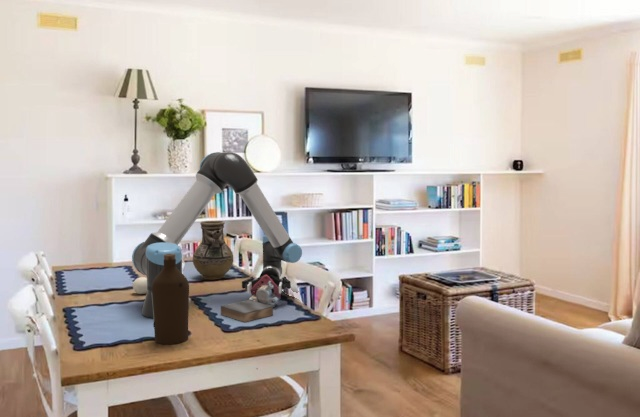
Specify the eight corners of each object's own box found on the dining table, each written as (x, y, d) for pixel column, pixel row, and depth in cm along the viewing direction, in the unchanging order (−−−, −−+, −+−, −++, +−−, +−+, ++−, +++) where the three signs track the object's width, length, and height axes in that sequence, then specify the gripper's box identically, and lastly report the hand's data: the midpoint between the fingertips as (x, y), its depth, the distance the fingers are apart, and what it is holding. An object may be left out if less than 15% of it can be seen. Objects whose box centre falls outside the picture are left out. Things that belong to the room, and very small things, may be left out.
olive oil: (195, 335, 173) (194, 252, 171) (181, 346, 163) (179, 258, 161) (162, 333, 175) (160, 251, 173) (146, 344, 165) (143, 257, 163)
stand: (244, 322, 187) (244, 313, 187) (220, 314, 196) (220, 305, 196) (272, 315, 195) (272, 306, 195) (249, 308, 204) (249, 299, 204)
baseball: (141, 291, 232) (141, 274, 231) (155, 293, 228) (154, 276, 228) (128, 294, 226) (128, 277, 225) (142, 296, 222) (141, 279, 222)
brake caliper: (286, 294, 214) (280, 273, 206) (279, 319, 206) (273, 297, 198) (257, 293, 216) (250, 271, 208) (249, 317, 208) (241, 295, 200)
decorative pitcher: (190, 274, 265) (189, 220, 263) (228, 271, 271) (228, 218, 269) (196, 284, 245) (195, 225, 243) (238, 281, 251) (237, 223, 249)
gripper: (299, 286, 227) (296, 300, 205) (240, 286, 227) (231, 300, 205) (299, 267, 226) (296, 279, 204) (240, 267, 226) (231, 279, 204)
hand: (263, 289), depth 204 cm, fingers closed on brake caliper, 10 cm apart
